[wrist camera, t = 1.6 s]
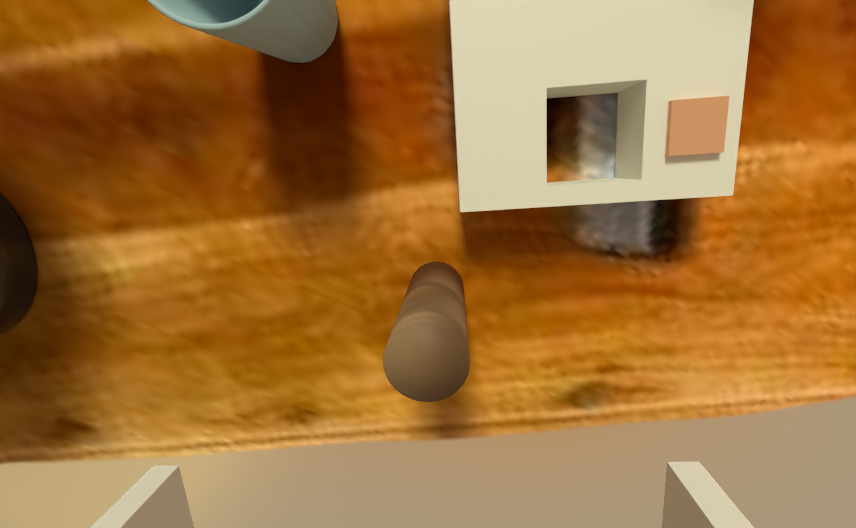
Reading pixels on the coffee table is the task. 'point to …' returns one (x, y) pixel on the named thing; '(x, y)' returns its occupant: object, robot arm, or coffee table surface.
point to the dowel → (429, 336)
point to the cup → (261, 24)
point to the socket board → (598, 74)
